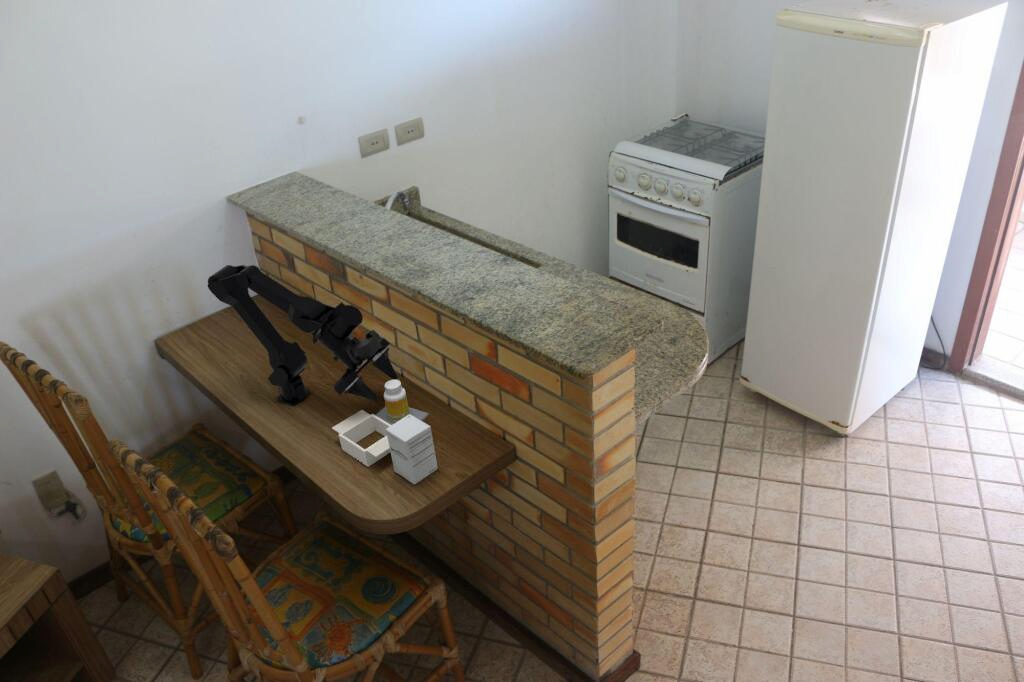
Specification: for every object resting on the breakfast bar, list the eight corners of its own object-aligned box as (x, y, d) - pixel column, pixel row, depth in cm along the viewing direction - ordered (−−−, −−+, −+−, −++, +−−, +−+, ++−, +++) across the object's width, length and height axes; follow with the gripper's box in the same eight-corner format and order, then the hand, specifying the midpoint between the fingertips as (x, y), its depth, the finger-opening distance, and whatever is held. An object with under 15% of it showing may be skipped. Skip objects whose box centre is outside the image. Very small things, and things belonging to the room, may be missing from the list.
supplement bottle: (411, 420, 207) (404, 388, 202) (389, 424, 206) (382, 392, 201) (408, 407, 211) (402, 375, 206) (387, 411, 211) (380, 380, 205)
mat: (371, 420, 209) (371, 418, 209) (391, 403, 215) (391, 401, 214) (409, 433, 203) (408, 431, 203) (428, 415, 209) (428, 413, 208)
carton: (333, 443, 203) (329, 429, 200) (367, 423, 208) (363, 408, 206) (377, 473, 192) (373, 458, 189) (411, 450, 198) (408, 435, 195)
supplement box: (393, 472, 192) (384, 428, 185) (418, 455, 196) (410, 412, 189) (414, 486, 187) (404, 441, 180) (439, 469, 191) (431, 425, 184)
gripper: (334, 348, 191) (384, 396, 193) (377, 308, 205) (422, 353, 207) (313, 371, 198) (361, 417, 200) (355, 331, 213) (400, 374, 214)
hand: (387, 389), depth 205 cm, fingers open, 9 cm apart
